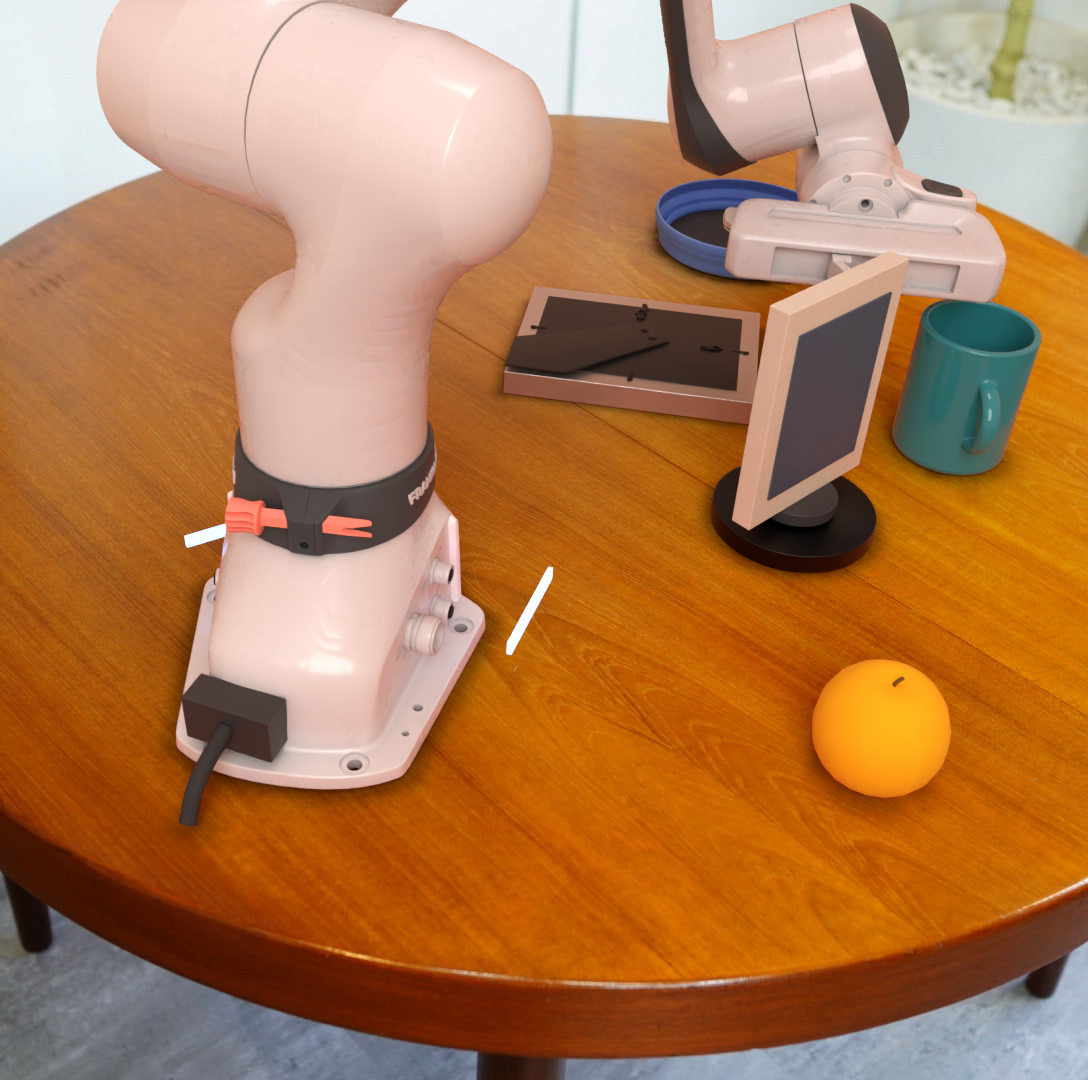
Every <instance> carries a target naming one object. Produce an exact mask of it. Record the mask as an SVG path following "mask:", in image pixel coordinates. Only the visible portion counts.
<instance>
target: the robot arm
mask: <svg viewBox="0 0 1088 1080" xmlns="http://www.w3.org/2000/svg"><path fill="white" fill-rule="evenodd" d="M407 2H409V0H119V1H118V2H117V4H116V5H115V6H114V8H113V9H112V11H111V13H110V14H109V17H108V19H107V20H106V23H105V26H104V28H103V30H102V33H101V36H100V39H99V44H98V47H97V48H98V49H97V57H96V67H95V69H96V70H95V71H96V74H95V75H96V88H97V95H98V98H99V99H98V100H99V102H100V106H101V109H102V112H103V115H104V117H105V119H106V121H107V123H108V125H109V127H110V128H111V130H112V132H114V134H115V136H116V137H117V138H118V139H119V140H120V141H121V142H122V143H124V144H125V145H126V146H127V147H129V148H130V149H131V150H133V151H134V152H136V153H137V154H138V155H140V156H141V157H143V159H145V160H147V161H148V162H150V163H151V164H153V165H154V166H156V167H157V168H159V169H161V170H162V171H164V172H166V173H167V174H168V175H170V176H172V177H173V178H175V179H176V180H178V181H180V182H181V183H183V184H185V185H186V186H189V187H191V188H193V189H195V190H199V191H201V192H205V193H208V194H211V195H214V196H217V197H219V198H223V199H224V200H227V201H230V202H234V203H236V204H240V205H242V206H246V207H249V208H251V209H254V210H257V211H260V212H262V213H266V214H269V215H272V216H274V217H277V218H278V219H279V220H281V221H284V222H285V223H286V224H287V226H288V228H289V231H290V233H291V235H292V237H293V241H294V247H295V261H294V267H293V268H290V269H287V270H285V271H282V272H280V273H277V274H276V275H274V276H272V277H270V278H268V279H266V280H265V281H264V282H263V283H261V284H260V285H259V286H258V287H256V288H255V289H254V290H253V291H252V292H251V294H249V296H248V297H247V299H246V300H245V302H244V303H243V304H242V306H241V307H240V309H239V310H238V312H237V314H236V316H235V318H234V321H233V323H232V327H231V330H230V331H231V332H230V348H231V356H232V357H231V358H232V368H233V377H234V387H235V394H236V395H235V396H236V405H237V416H238V424H239V425H238V428H237V431H236V433H235V438H234V450H233V455H232V469H231V475H232V476H231V479H232V485H233V489H231V490H230V491H228V492H227V494H226V496H227V504H226V507H225V513H224V523H223V524H220V525H216V526H212V527H209V528H206V529H203V530H199V531H195V532H193V533H190V534H186V535H184V543H185V546H186V548H190V547H195V546H198V545H201V544H205V543H207V542H211V541H215V540H219V539H221V538H224V539H223V544H222V550H221V557H220V564H219V567H217V568H216V569H215V572H214V573H213V576H212V577H210V578H209V579H208V580H207V581H206V582H205V584H204V587H203V591H202V596H201V602H200V607H199V611H198V617H197V621H196V627H195V631H194V637H193V642H192V647H191V652H190V657H189V660H188V661H189V662H188V667H187V672H186V677H185V682H184V687H183V691H182V695H181V697H180V707H179V712H178V717H177V724H176V728H175V746H176V748H177V749H178V751H179V752H181V753H182V754H184V755H185V756H186V757H187V758H188V759H190V760H191V761H193V762H195V765H194V767H193V769H192V770H191V774H190V776H189V778H188V780H187V783H186V786H185V788H184V789H185V790H184V793H183V796H182V801H181V805H180V811H179V818H178V824H181V825H182V826H186V827H195V826H197V825H198V819H199V814H200V809H201V803H202V799H203V795H204V792H205V789H206V787H207V784H208V781H209V779H210V776H211V774H212V772H213V771H214V772H217V773H219V774H222V775H226V776H229V777H232V778H235V779H240V780H244V781H249V782H252V783H260V784H265V785H271V786H277V787H286V788H296V789H305V790H306V789H307V790H348V789H358V788H359V789H360V788H366V787H372V786H376V785H381V784H384V783H388V782H391V781H393V780H397V779H399V778H401V777H402V776H404V775H405V774H406V773H407V771H408V770H409V769H410V767H411V765H412V763H413V762H414V760H415V758H416V757H417V754H418V752H419V751H420V749H421V747H422V746H423V743H424V742H425V740H426V738H427V737H428V735H429V733H430V731H431V729H432V727H433V725H434V724H435V722H436V720H437V719H438V716H439V715H440V713H441V711H442V709H443V708H444V706H445V703H446V702H447V700H448V698H449V696H450V694H451V692H452V691H453V689H454V687H455V685H456V684H457V682H458V680H459V678H460V676H461V674H462V673H463V672H464V669H465V667H466V665H467V663H468V662H469V660H470V658H471V656H472V654H473V652H474V651H475V649H476V647H477V645H478V644H479V643H480V640H481V638H482V636H483V634H484V633H485V630H486V627H487V626H486V625H487V624H486V616H485V612H484V610H483V609H482V608H481V607H480V606H479V605H478V604H477V603H475V602H474V601H472V600H471V599H469V598H468V597H467V596H464V595H463V594H462V582H461V581H462V580H461V578H462V577H461V554H460V552H461V551H460V529H459V520H458V519H457V517H455V515H454V514H453V512H452V511H451V510H450V509H449V508H448V506H447V505H445V503H444V502H443V501H442V499H441V498H440V496H439V495H438V493H437V492H436V489H435V486H436V470H437V464H438V457H437V456H438V455H437V447H436V442H435V432H434V429H433V426H432V424H431V422H430V420H429V419H428V415H429V414H428V411H429V410H428V409H429V408H428V405H429V404H428V403H429V379H430V377H429V376H430V360H431V349H432V348H431V347H432V337H433V331H434V327H435V323H436V320H437V317H438V313H439V311H440V309H441V306H442V304H443V302H444V301H445V299H446V297H447V295H448V293H449V292H450V291H451V289H452V288H453V286H454V285H455V284H456V283H457V282H458V281H459V280H460V279H461V278H462V277H464V276H465V275H466V274H467V273H469V272H470V271H472V270H474V269H476V268H478V267H479V266H482V265H485V264H486V263H489V262H490V261H492V260H494V259H495V258H497V257H498V256H500V255H502V253H504V252H506V251H507V250H508V249H509V248H510V247H511V246H513V244H515V242H517V241H518V240H519V239H520V238H521V237H522V235H523V234H524V233H525V232H526V230H527V229H528V228H529V226H530V225H531V224H532V222H533V221H534V219H535V218H536V216H537V214H538V212H539V211H540V208H541V206H542V204H543V202H544V199H545V197H546V194H547V191H548V188H549V184H550V182H551V181H550V180H551V176H552V169H553V161H554V139H553V138H554V137H553V130H552V124H551V119H550V115H549V112H548V108H547V106H546V102H545V100H544V98H543V95H542V93H541V90H540V89H539V87H538V85H537V84H536V82H535V80H534V79H533V78H532V77H531V76H530V75H529V74H528V73H526V72H525V71H524V70H522V69H521V68H518V67H516V66H515V65H513V64H511V63H509V62H507V61H506V60H504V59H502V58H501V57H500V56H497V55H495V54H493V53H491V52H490V51H489V50H487V49H484V48H482V47H480V46H478V45H476V44H474V43H472V42H470V41H468V40H467V39H465V38H463V37H460V36H459V35H456V34H455V33H453V32H451V31H448V30H446V29H445V30H444V29H440V28H437V27H432V26H428V25H425V24H422V23H421V24H420V23H417V22H412V21H409V20H404V19H401V18H397V17H393V16H394V15H395V14H396V13H397V12H398V11H399V10H400V9H401V8H402V7H403V5H405V4H406V3H407ZM659 7H660V15H661V22H662V23H661V24H662V32H663V38H664V46H665V49H666V58H667V65H668V78H667V89H666V110H667V120H668V124H669V129H670V133H671V137H672V139H673V142H674V144H675V147H676V148H677V150H678V151H679V153H680V154H681V157H682V159H683V160H684V161H686V162H687V163H689V164H690V165H692V166H694V167H696V168H699V169H700V170H701V171H704V172H707V173H708V174H712V175H714V176H718V177H722V176H725V175H727V174H731V173H734V172H736V171H738V170H741V169H743V168H747V167H749V166H751V165H754V164H757V163H758V162H759V161H762V160H765V159H769V158H772V157H776V156H779V155H783V154H786V153H790V152H794V151H796V150H797V153H796V158H795V169H794V176H795V177H794V184H795V185H794V186H795V191H796V193H797V197H798V202H795V201H785V200H775V199H763V198H754V199H748V200H745V201H743V202H742V203H741V204H740V205H739V206H738V207H728V208H727V209H726V210H725V212H724V214H723V224H724V228H725V229H726V230H727V231H728V232H730V233H729V238H728V244H727V252H726V259H725V269H726V270H727V271H728V272H729V273H731V274H732V275H734V276H736V277H739V278H747V279H757V280H756V281H768V282H775V283H777V282H778V283H787V284H797V285H804V286H805V285H807V286H814V285H816V284H818V283H820V282H823V281H825V280H827V279H829V278H831V277H834V276H836V275H838V274H840V273H842V272H845V271H847V270H849V269H851V268H853V267H856V266H858V265H860V264H862V263H864V262H867V261H869V260H871V259H873V258H875V257H878V256H880V255H882V254H884V253H886V252H889V251H892V252H895V253H897V254H899V255H902V256H904V257H906V258H908V259H909V262H908V267H907V271H906V275H905V279H904V283H903V287H902V291H901V295H902V296H909V297H910V296H912V297H913V296H914V297H920V298H921V297H922V298H930V299H940V300H945V299H948V300H958V301H967V302H976V303H986V302H988V301H990V302H991V301H992V300H993V299H995V298H996V297H997V296H998V293H999V291H1000V287H1001V284H1002V281H1003V278H1004V275H1005V270H1006V267H1007V253H1006V250H1005V247H1004V245H1003V243H1002V240H1001V238H1000V236H999V234H998V232H997V230H996V229H995V226H994V225H993V224H992V223H991V221H990V220H989V219H988V218H987V217H986V216H984V214H981V213H980V212H977V204H978V196H977V194H975V192H973V190H971V189H967V188H964V187H960V186H955V185H952V184H949V183H945V182H940V181H937V180H934V179H929V178H927V177H924V176H921V175H919V174H916V173H915V172H913V171H910V170H909V169H906V168H905V167H904V163H903V162H904V161H903V158H902V154H901V151H900V149H899V147H898V145H899V143H900V141H901V140H902V137H903V136H904V134H905V131H906V129H907V125H908V123H909V120H910V118H911V117H910V115H911V114H910V102H909V94H908V88H907V83H906V79H905V77H904V75H905V74H904V72H903V69H902V64H901V62H900V59H899V55H898V52H897V48H896V45H895V42H894V39H893V35H892V34H891V31H890V29H889V27H888V25H887V23H885V21H883V20H882V19H881V18H880V17H879V16H877V15H876V14H874V13H873V12H872V11H870V10H869V9H867V8H866V7H864V6H862V5H860V4H857V3H854V2H849V3H846V4H843V5H839V6H836V7H833V8H829V9H825V10H822V11H819V12H816V13H813V14H809V15H806V16H803V17H800V18H796V19H794V21H790V22H787V23H784V24H780V25H777V26H775V27H771V28H768V29H765V30H761V31H758V32H755V33H752V34H748V35H745V36H743V37H739V38H734V39H718V38H716V32H715V21H714V10H713V9H714V8H713V0H659ZM901 295H900V296H901ZM553 571H554V567H552V566H548V567H547V569H546V570H545V572H544V574H543V575H542V578H541V579H540V581H539V584H538V585H537V587H536V589H535V591H534V592H533V594H532V596H531V598H530V600H529V602H528V604H527V605H526V607H525V609H524V610H523V612H522V614H521V616H520V618H519V619H518V622H517V624H516V625H515V627H514V629H513V631H512V633H511V635H510V637H509V638H508V640H507V642H506V655H510V656H512V654H513V652H514V651H515V649H516V647H517V645H518V643H519V641H520V640H521V638H522V636H523V634H524V632H525V631H526V628H527V626H528V624H529V623H530V621H531V619H532V618H533V615H534V613H535V611H536V610H537V609H538V606H539V605H540V603H541V600H542V599H543V596H544V595H545V593H546V591H547V589H548V587H549V585H550V584H551V582H552V580H553V574H554V573H553ZM354 769H357V770H354Z"/></svg>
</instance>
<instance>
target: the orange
mask: <svg viewBox="0 0 1088 1080" xmlns="http://www.w3.org/2000/svg"><path fill="white" fill-rule="evenodd" d="M811 726H812V729H811V731H812V745H813V748H814V750H815V753H816V754H817V755H816V756H817V757H818V759H819V762H820V763H821V765H822V767H823V768H824V769H825V770H826V771H827V772H828V774H829V775H830V776H831V777H832V778H833V779H834V780H835V781H837V782H838V783H839V784H841V785H843V786H844V787H846V788H848V789H849V790H851V791H854V792H857V793H859V794H862V795H864V796H867V797H873V798H874V797H875V798H882V799H887V798H888V799H889V798H898V797H899V798H900V797H903V796H906V795H908V794H910V793H913V792H915V791H917V790H919V789H922V788H923V787H924V786H926V785H927V784H928V783H930V781H931V780H932V779H933V778H934V777H935V776H936V775H937V774H938V772H940V770H941V768H942V767H943V765H944V762H945V761H946V757H947V755H948V751H949V748H950V743H951V740H952V727H951V720H950V713H949V707H948V704H947V702H946V700H945V698H944V697H943V695H942V693H941V692H940V690H939V688H938V686H937V685H936V684H935V683H934V682H933V681H932V680H931V679H930V678H929V677H928V676H927V675H926V674H925V673H924V672H922V671H920V670H918V669H916V668H915V667H913V666H912V665H909V664H907V663H903V662H901V661H897V660H891V659H886V658H885V659H883V658H877V659H865V660H862V661H859V662H856V663H854V664H850V665H848V666H846V667H844V668H842V669H841V670H840V671H839V672H838V673H836V674H835V675H834V676H833V677H832V678H831V679H830V680H829V681H828V682H827V683H826V684H825V685H824V687H823V688H822V689H821V692H820V694H819V697H818V699H817V702H816V704H815V706H814V709H813V712H812V717H811Z"/></svg>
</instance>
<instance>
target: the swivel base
mask: <svg viewBox="0 0 1088 1080" xmlns="http://www.w3.org/2000/svg"><path fill="white" fill-rule="evenodd" d="M741 466H742V465H739V466H736V467H734V469H731V470H730V471H728V472H727V473H725V474H724V475H723V476H722V477H721V478H720V479H719V480H718V482H717V483H716V486H715V488H714V490H713V496H712V501H711V502H712V503H711V507H710V508H711V509H710V519H711V522H712V526H713V528H714V530H715V532H716V533H717V535H718V536H719V537H720V539H721V540H722V541H723V542H724V543H725V544H726V545H727V546H728V547H729V548H730V549H732V550H733V551H735V552H736V553H738V554H739V555H741V556H743V557H744V558H746V559H748V560H750V561H752V562H755V563H757V564H760V565H762V566H766V567H768V568H772V569H776V570H778V571H779V570H780V571H784V572H791V573H801V574H802V573H803V574H817V573H818V574H819V573H826V572H832V571H837V570H840V569H842V568H847V566H850V565H852V564H854V563H855V562H857V561H858V560H860V559H861V558H862V557H863V556H865V554H866V553H867V552H868V551H869V549H870V546H871V544H872V541H873V537H874V534H875V530H876V525H877V513H876V509H875V507H874V505H873V503H872V501H871V499H870V498H869V497H868V495H867V494H866V493H865V492H864V490H863V489H861V488H860V487H859V486H858V485H857V484H855V483H854V482H852V481H851V480H850V479H848V478H847V477H845V476H843V475H841V476H839V477H837V478H836V479H834V480H832V481H831V482H830V483H831V484H832V485H833V486H834V487H835V489H836V491H837V493H838V497H839V499H838V505H837V509H836V512H835V514H834V516H833V517H832V518H831V519H830V520H829V521H827V522H826V523H824V524H821V525H817V526H812V527H797V526H790V525H786V524H783V523H780V522H777V521H775V520H773V519H771V518H769V519H767V520H765V521H764V522H762V523H760V524H759V525H757V526H755V527H754V528H752V529H750V530H747V529H746V528H744V527H743V526H741V525H739V524H738V523H736V522H734V521H733V520H732V517H733V511H734V506H735V500H736V494H737V489H738V483H739V477H740V472H741Z"/></svg>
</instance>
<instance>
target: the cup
mask: <svg viewBox="0 0 1088 1080" xmlns="http://www.w3.org/2000/svg"><path fill="white" fill-rule="evenodd" d="M1042 340H1043V335H1042V332H1041V330H1040V329H1039V327H1038V325H1037V324H1036V323H1035V322H1034V321H1033V320H1032V319H1031V318H1029V317H1028V316H1027V315H1025V314H1024V313H1021V311H1018V310H1016V309H1014V308H1011V307H1009V306H1006V305H1003V304H1001V303H997V302H994V301H991V300H990V301H988V302H986V303H976V302H967V301H958V300H948V299H940V300H938V301H934V302H933V303H931V304H929V305H928V306H926V307H925V308H924V309H923V311H922V312H921V315H920V319H919V322H918V327H917V330H916V333H915V338H914V341H913V342H914V343H913V345H912V350H911V353H910V356H909V361H908V365H907V367H906V372H905V376H904V380H903V384H902V387H901V388H902V389H901V392H900V396H899V399H898V403H897V408H896V411H895V415H894V419H893V423H892V427H891V436H892V437H891V438H892V440H893V443H894V445H895V447H896V448H897V449H898V451H899V452H900V453H901V454H902V455H903V456H904V457H905V458H907V459H908V460H910V461H911V462H912V463H914V464H916V465H918V466H920V467H921V468H924V469H927V470H930V471H932V472H936V473H940V474H944V475H951V476H973V475H974V476H975V475H979V474H980V475H981V474H983V473H987V472H989V471H991V470H993V469H994V468H996V467H997V466H998V465H999V464H1000V463H1001V462H1002V460H1003V459H1004V457H1005V454H1006V452H1007V448H1008V445H1009V442H1010V439H1011V437H1012V433H1013V431H1014V427H1015V424H1016V420H1017V418H1018V415H1019V412H1020V410H1021V409H1020V408H1021V405H1022V403H1023V399H1024V396H1025V393H1026V390H1027V388H1028V384H1029V381H1030V378H1031V375H1032V372H1033V369H1034V365H1035V362H1036V360H1037V357H1038V354H1039V351H1040V347H1041V344H1042Z"/></svg>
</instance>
